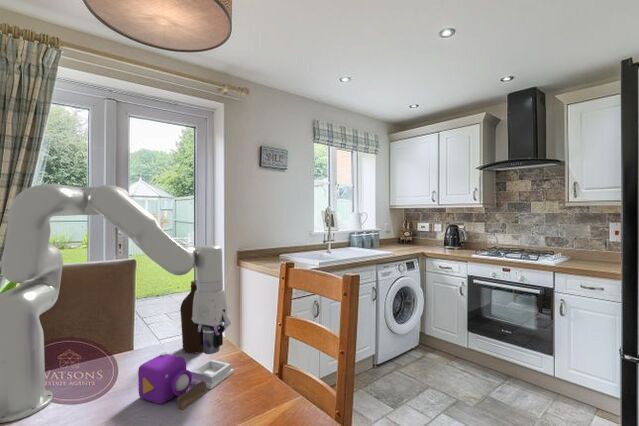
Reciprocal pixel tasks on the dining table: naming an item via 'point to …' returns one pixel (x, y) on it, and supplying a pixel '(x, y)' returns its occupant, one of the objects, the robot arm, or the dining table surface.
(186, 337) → the olive oil
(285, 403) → the dining table surface
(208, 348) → the lens
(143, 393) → the toy camera
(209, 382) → the tray
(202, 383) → the rail
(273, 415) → the dining table surface
